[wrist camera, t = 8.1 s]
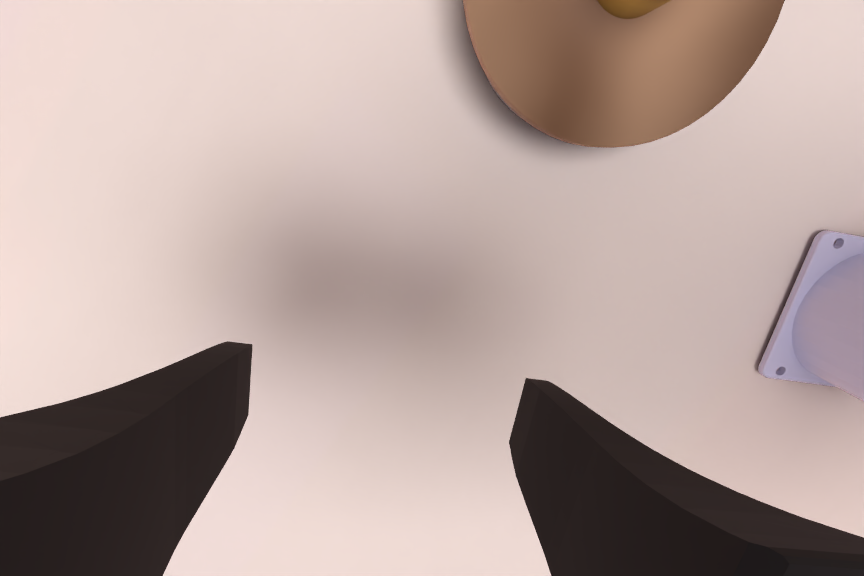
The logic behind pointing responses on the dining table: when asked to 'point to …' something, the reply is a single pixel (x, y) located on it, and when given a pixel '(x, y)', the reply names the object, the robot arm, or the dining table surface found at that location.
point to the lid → (616, 61)
